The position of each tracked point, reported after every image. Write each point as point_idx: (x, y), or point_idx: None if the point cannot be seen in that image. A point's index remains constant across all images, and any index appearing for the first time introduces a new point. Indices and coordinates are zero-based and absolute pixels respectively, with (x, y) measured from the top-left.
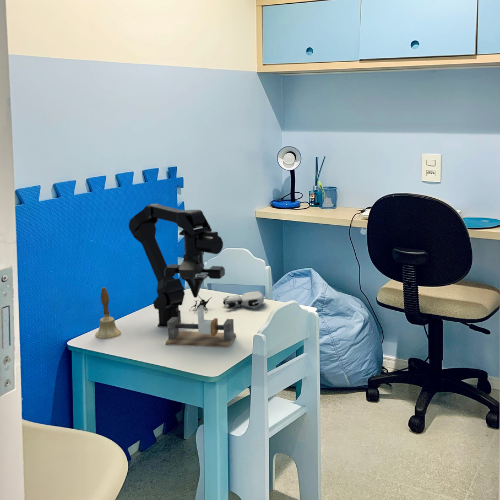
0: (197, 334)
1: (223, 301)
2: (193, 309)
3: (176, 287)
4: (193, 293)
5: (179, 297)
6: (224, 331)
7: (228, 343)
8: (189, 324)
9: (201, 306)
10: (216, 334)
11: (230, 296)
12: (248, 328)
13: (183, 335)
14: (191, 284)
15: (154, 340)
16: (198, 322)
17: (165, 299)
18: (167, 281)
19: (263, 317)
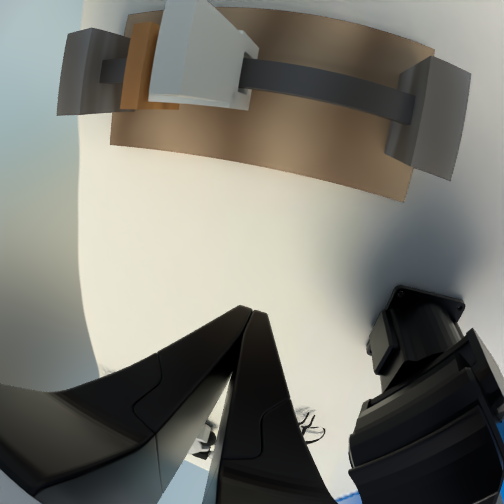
0: (281, 126)
1: (212, 441)
2: (311, 423)
3: (409, 473)
4: (258, 335)
5: (389, 411)
6: (115, 35)
7: (129, 21)
8: (317, 84)
9: (163, 53)
10: (183, 124)
11: (190, 450)
12: (94, 231)
13: (357, 120)
14: (243, 442)
15: (484, 127)
16: (238, 33)
17: (491, 368)
18: (485, 499)
19: (87, 324)
